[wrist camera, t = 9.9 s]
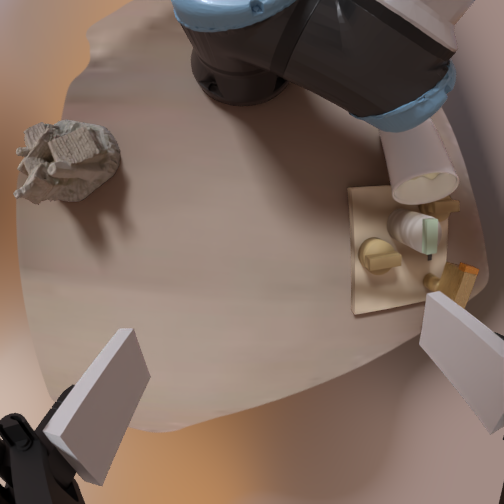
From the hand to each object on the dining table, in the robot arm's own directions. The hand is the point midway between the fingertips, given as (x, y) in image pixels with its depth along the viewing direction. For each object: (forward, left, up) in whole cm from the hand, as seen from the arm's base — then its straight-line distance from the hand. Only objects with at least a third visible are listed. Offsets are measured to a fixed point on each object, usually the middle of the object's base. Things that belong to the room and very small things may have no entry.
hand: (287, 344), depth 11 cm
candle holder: (-14, +22, -28) cm, 39 cm away
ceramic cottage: (-16, -29, -32) cm, 46 cm away
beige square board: (+6, +22, -32) cm, 39 cm away
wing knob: (+12, +27, -29) cm, 42 cm away
